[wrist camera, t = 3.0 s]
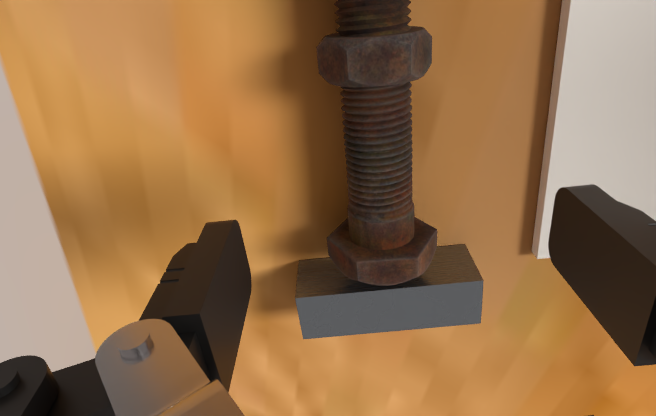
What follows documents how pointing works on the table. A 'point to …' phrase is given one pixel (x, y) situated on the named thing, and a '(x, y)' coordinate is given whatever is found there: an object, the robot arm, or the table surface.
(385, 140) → the bolt
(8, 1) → the table surface
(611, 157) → the board
